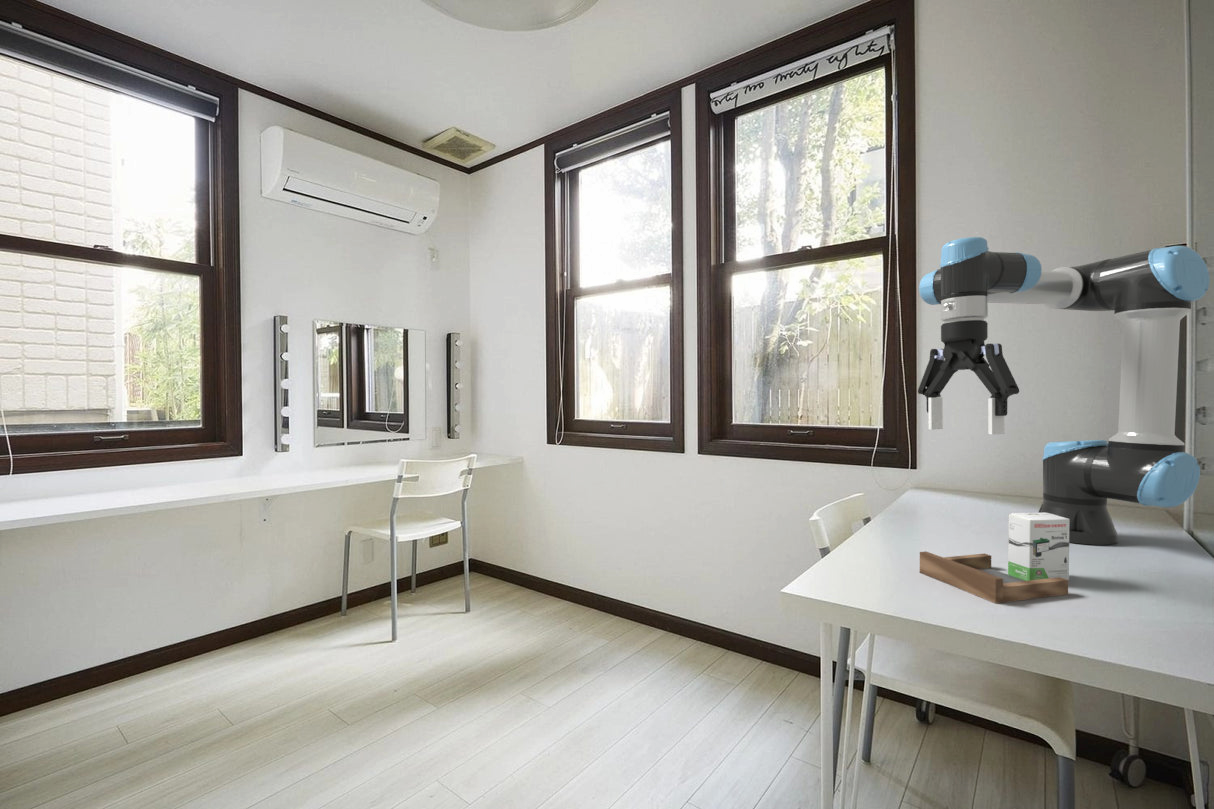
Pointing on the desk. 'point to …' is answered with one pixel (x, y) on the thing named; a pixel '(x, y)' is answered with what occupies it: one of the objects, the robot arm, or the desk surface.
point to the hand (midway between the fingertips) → (964, 431)
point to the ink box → (1038, 546)
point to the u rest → (987, 578)
